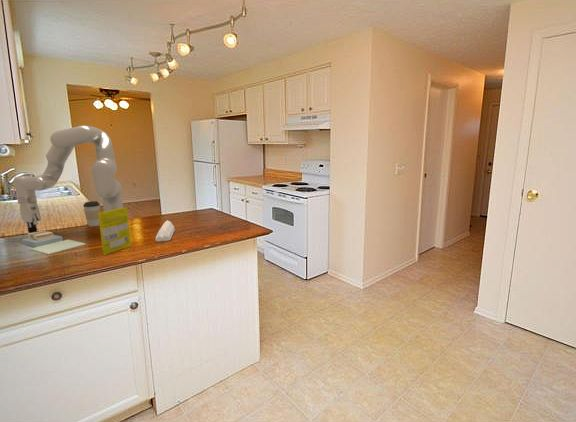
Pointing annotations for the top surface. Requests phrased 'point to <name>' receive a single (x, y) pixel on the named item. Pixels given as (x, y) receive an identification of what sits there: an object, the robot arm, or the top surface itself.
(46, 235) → the birch tile
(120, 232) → the food package
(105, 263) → the top surface
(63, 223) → the top surface
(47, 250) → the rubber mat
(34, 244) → the block
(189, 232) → the top surface
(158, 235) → the crystal
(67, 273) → the top surface
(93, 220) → the coffee cup
